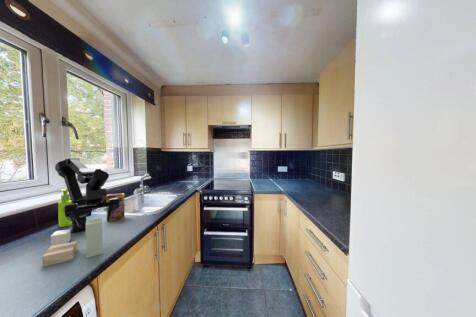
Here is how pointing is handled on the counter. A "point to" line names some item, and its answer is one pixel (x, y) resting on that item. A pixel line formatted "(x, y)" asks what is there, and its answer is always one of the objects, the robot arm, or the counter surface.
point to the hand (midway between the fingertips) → (94, 224)
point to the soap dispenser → (61, 204)
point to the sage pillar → (94, 237)
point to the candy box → (120, 211)
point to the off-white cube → (61, 237)
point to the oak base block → (60, 253)
